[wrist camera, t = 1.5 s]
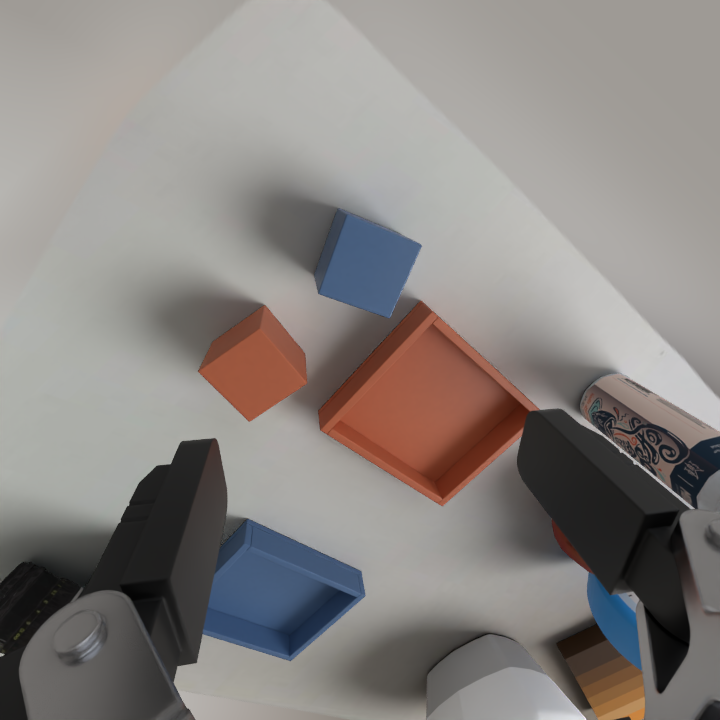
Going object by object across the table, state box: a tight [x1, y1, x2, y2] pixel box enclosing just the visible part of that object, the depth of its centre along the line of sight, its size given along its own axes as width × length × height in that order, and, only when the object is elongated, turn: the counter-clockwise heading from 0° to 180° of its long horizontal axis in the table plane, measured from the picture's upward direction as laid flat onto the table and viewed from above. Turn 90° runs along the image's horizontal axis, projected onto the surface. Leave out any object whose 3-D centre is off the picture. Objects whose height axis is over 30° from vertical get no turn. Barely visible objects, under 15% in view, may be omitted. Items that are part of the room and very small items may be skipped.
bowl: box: [426, 634, 587, 720], centre depth 45 cm, size 18×18×9 cm
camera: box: [0, 562, 88, 655], centre depth 28 cm, size 15×11×10 cm
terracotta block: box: [198, 305, 307, 422], centre depth 24 cm, size 4×4×4 cm
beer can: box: [580, 373, 720, 513], centre depth 27 cm, size 5×5×12 cm
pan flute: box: [556, 624, 645, 720], centre depth 52 cm, size 25×3×25 cm
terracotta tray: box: [318, 301, 540, 506], centre depth 29 cm, size 13×11×2 cm
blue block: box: [314, 208, 422, 318], centre depth 23 cm, size 4×4×4 cm
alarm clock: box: [587, 572, 642, 671], centre depth 35 cm, size 13×6×15 cm, turn 101°
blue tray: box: [203, 519, 365, 661], centre depth 35 cm, size 13×11×2 cm
